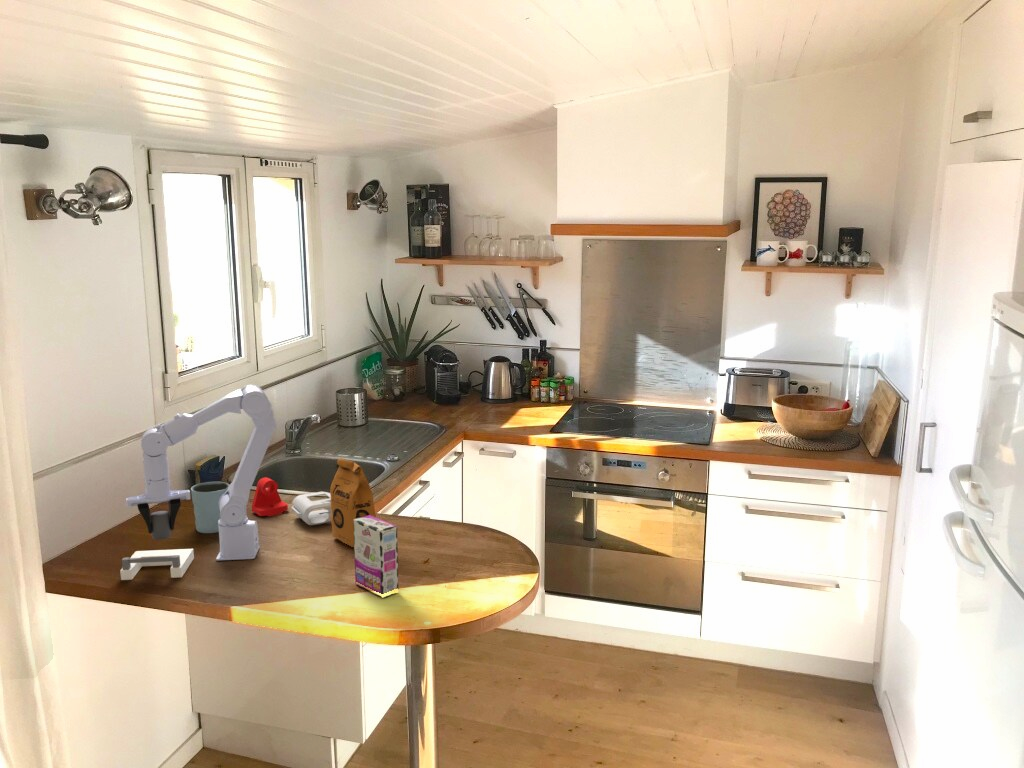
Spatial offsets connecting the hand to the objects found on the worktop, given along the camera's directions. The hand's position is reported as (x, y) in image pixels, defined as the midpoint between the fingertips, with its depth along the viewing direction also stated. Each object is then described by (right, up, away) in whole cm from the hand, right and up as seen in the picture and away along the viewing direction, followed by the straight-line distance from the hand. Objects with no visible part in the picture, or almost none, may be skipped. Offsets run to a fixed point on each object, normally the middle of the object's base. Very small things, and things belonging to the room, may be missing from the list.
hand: (161, 530), depth 211 cm
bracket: (+16, -2, +40) cm, 43 cm away
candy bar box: (+56, -12, -12) cm, 58 cm away
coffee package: (+45, -6, +17) cm, 49 cm away
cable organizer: (+31, -3, +33) cm, 45 cm away
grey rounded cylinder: (0, -2, +1) cm, 2 cm away
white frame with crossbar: (0, -9, -1) cm, 9 cm away
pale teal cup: (+3, -4, +27) cm, 28 cm away
